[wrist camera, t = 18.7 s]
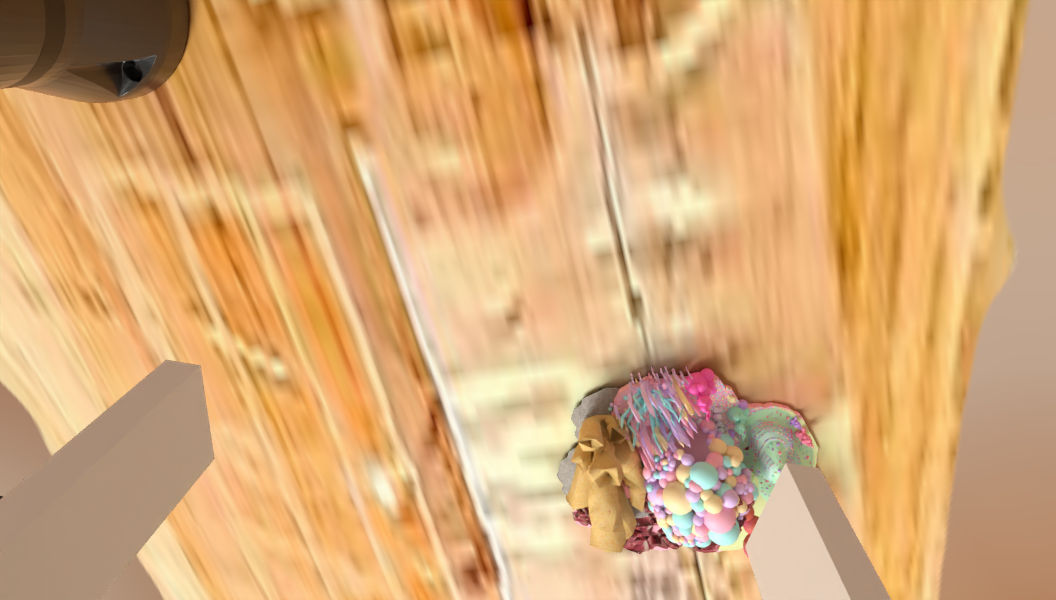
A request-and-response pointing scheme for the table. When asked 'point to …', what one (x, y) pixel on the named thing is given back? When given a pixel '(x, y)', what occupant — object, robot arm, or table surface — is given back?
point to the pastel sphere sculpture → (678, 463)
